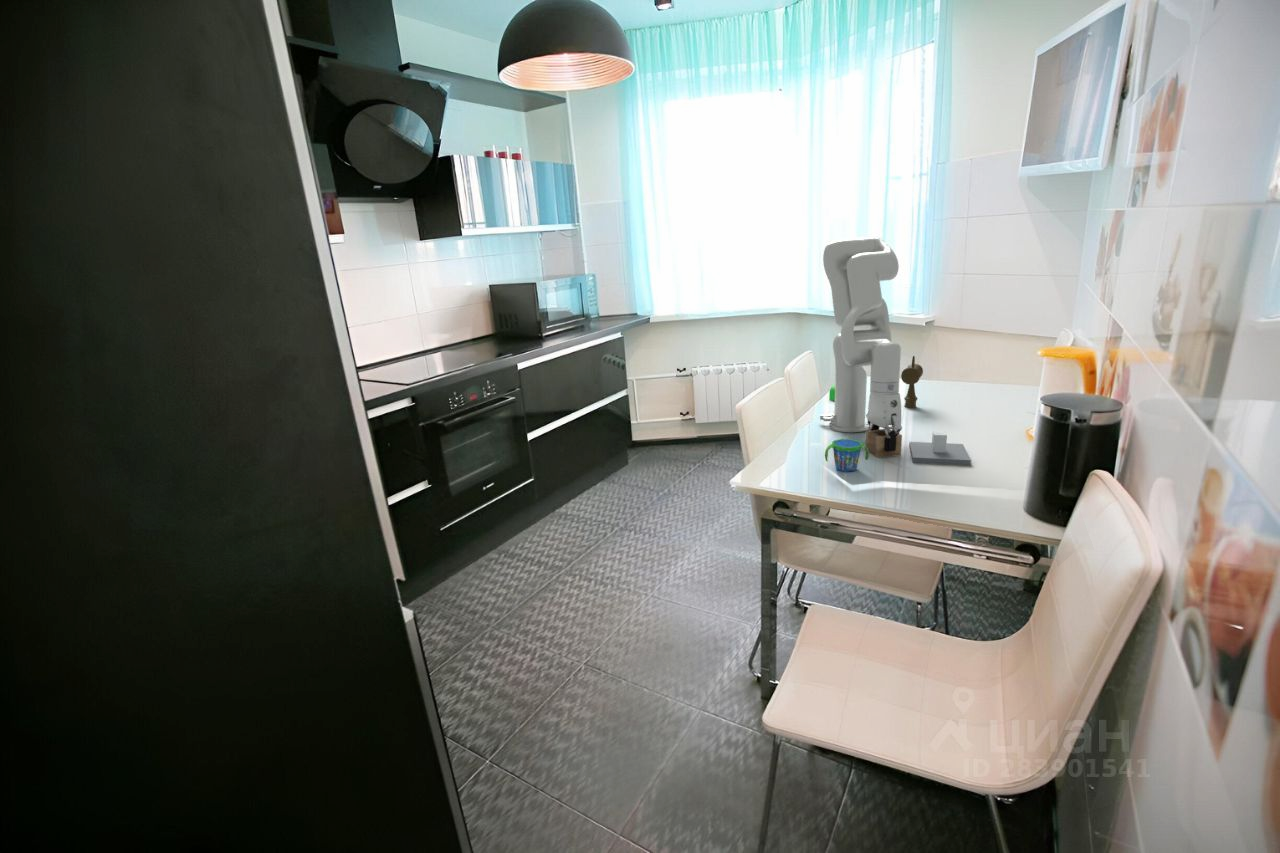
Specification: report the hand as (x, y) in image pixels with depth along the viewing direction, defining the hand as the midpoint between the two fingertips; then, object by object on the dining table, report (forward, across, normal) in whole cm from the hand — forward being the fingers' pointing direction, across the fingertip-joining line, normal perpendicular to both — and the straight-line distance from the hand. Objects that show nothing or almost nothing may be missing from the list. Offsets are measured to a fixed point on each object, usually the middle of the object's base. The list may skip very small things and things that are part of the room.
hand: (882, 446), depth 167 cm
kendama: (+1, +36, -33) cm, 49 cm away
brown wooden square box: (+2, 0, 0) cm, 2 cm away
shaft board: (+2, -7, -13) cm, 15 cm away
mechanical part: (+1, +54, -18) cm, 57 cm away
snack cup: (+2, -8, +16) cm, 18 cm away
